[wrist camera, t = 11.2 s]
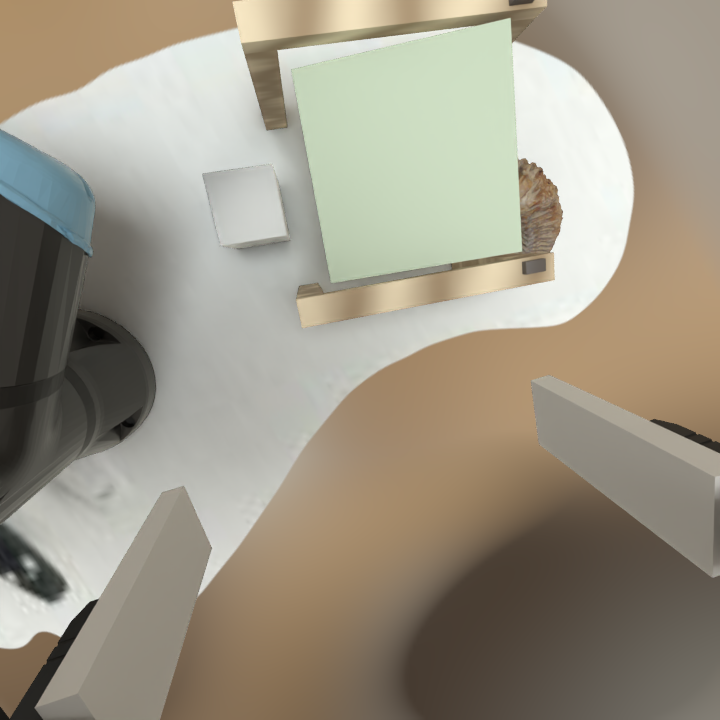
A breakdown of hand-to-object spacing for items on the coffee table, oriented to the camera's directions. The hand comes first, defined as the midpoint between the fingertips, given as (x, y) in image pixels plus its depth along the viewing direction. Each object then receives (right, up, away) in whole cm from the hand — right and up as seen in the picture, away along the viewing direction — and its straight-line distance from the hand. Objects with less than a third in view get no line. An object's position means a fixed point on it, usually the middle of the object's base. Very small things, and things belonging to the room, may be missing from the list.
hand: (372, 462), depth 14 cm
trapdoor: (+3, +18, +16) cm, 24 cm away
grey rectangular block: (-10, +17, +21) cm, 29 cm away
